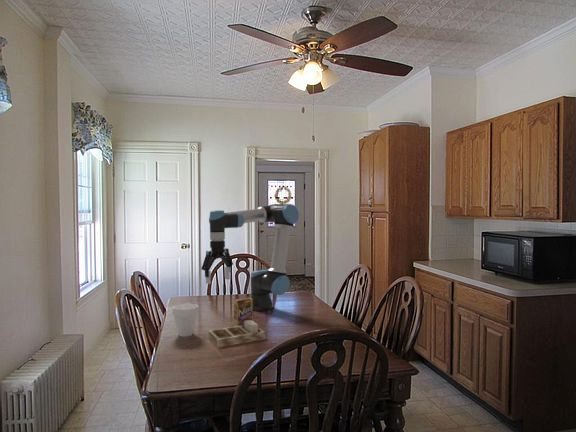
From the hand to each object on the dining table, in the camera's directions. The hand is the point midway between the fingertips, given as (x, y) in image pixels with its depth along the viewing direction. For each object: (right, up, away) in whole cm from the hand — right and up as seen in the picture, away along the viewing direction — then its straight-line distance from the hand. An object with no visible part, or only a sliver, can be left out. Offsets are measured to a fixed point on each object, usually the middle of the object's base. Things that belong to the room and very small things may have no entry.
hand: (218, 281), depth 200 cm
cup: (-14, -24, -10) cm, 30 cm away
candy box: (+13, -24, -2) cm, 28 cm away
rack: (+12, -24, -19) cm, 33 cm away
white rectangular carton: (+19, -23, -16) cm, 34 cm away
